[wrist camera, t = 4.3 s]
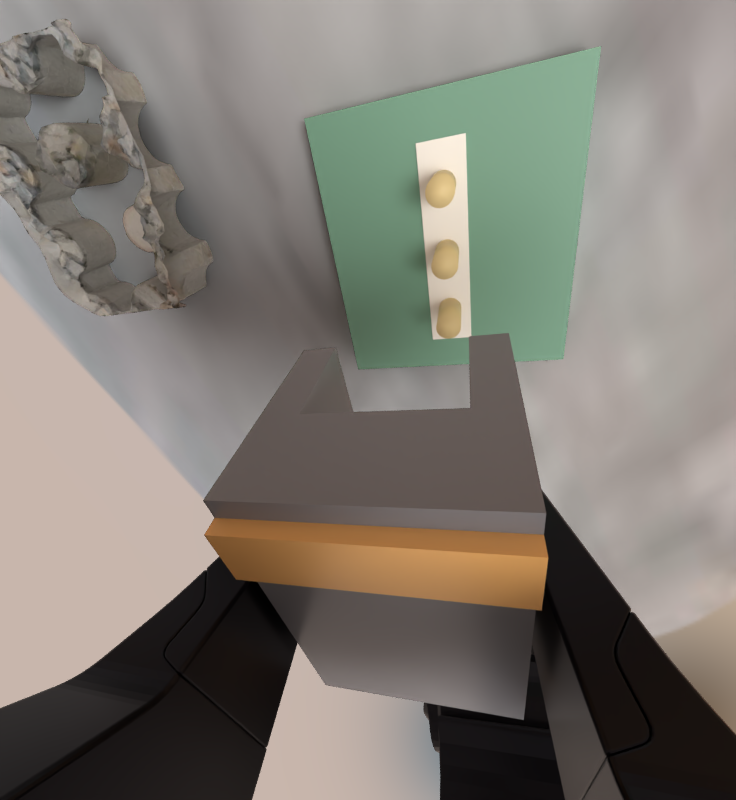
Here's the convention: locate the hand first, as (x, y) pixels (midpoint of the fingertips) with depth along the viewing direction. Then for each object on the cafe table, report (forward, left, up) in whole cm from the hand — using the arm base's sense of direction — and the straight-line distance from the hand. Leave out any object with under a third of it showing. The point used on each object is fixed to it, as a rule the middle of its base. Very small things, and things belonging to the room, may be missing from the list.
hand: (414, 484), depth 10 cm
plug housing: (0, 0, -1) cm, 1 cm away
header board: (+3, -1, -12) cm, 12 cm away
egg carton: (+7, +15, -12) cm, 21 cm away
